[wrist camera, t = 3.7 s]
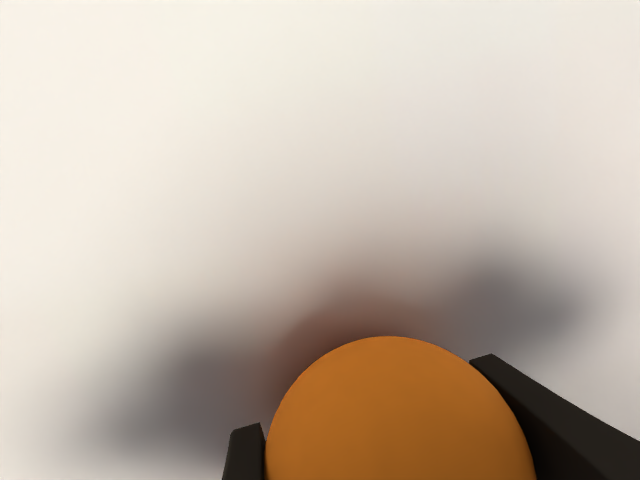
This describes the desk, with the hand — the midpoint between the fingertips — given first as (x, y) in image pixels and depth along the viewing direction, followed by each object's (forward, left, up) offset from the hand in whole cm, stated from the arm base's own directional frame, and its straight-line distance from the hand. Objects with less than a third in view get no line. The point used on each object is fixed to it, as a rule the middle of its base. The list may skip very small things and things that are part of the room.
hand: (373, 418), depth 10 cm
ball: (0, 0, -1) cm, 1 cm away
